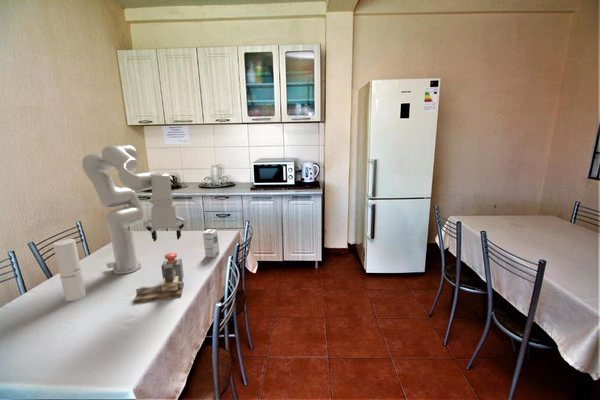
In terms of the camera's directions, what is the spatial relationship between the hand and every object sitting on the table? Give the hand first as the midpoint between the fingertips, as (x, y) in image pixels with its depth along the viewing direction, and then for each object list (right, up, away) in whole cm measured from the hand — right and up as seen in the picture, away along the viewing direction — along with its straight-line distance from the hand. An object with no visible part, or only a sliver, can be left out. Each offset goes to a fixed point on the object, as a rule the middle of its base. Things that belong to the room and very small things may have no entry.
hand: (167, 239), depth 131 cm
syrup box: (+10, -14, +36) cm, 40 cm away
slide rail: (-1, -23, -3) cm, 23 cm away
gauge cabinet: (0, -20, +8) cm, 22 cm away
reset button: (0, -14, +6) cm, 15 cm away
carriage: (+3, -21, -3) cm, 21 cm away
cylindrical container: (-37, -24, -5) cm, 45 cm away
